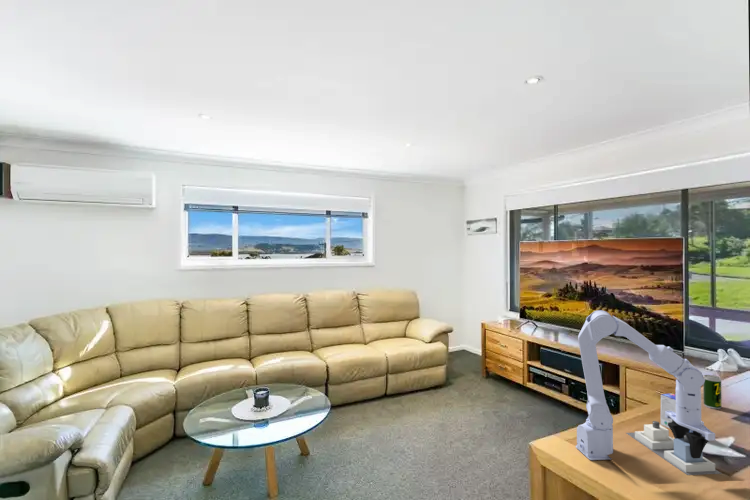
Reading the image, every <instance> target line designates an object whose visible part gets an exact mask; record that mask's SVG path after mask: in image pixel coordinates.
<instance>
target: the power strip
mask: <svg viewBox="0 0 750 500" xmlns="http://www.w3.org/2000/svg"><path fill="white" fill-rule="evenodd" d="M625 434H626V435H628V436H630V437H631V438H632V439H633V440H635V441H637V442H638V443H639V444H640V445H642V446H644V447H645V448H647V449H648V450H650V451H651V452H653V453H654V454H655V455H657V456H658V457H659V458H661V459H663V460H664V461H666V462H667V463H669V464H670V465H672V466H673V467H674V468H676V469H678V470H679V471H681V472H682V473H683V474H684V475H686V476H695V475H696V476H697V475H699V476H700V475H720V474H721V475H722V474H723V473H722V472H720V471H719V470H717V469H716V463H715V462H713V461H711V460H710V459H708V458H706V457H704V456H703V462H696V463H686V462H684V461H683V460H681V459H680V458H678V457H676V456H675V455H674V439H675V438H674V437H671V436H669V441H652V440H650V439H649V438H647V437H646V436H644V430H636V431H634V432H625Z"/></svg>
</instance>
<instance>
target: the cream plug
mask: <svg viewBox="0 0 750 500" xmlns="http://www.w3.org/2000/svg"><path fill="white" fill-rule="evenodd" d="M643 431H644V436H646V437H647V438H649V439H650V440H652V441H669V435H670V432H669V431H670V430H669V428H668V429H667V427H665V426H663V425H661V422H659V421H657V420H653V421H652V423H650V424H643Z"/></svg>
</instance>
